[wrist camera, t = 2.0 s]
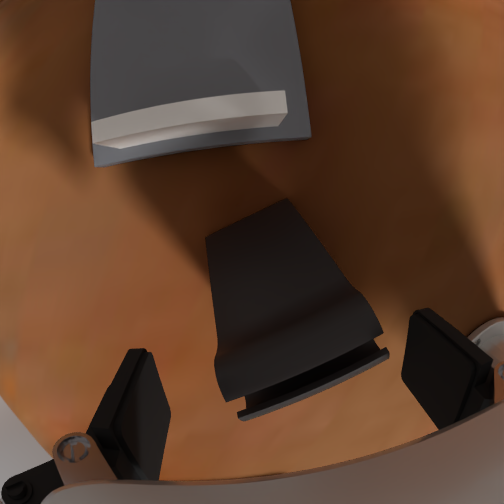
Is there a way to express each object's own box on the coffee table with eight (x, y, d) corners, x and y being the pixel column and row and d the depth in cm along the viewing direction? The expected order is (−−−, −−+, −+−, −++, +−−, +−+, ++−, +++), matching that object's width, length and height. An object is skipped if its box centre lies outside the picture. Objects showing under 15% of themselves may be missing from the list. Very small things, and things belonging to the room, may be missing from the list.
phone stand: (334, 309, 22) (405, 416, 11) (261, 342, 23) (278, 469, 11) (287, 197, 20) (348, 224, 9) (205, 235, 21) (163, 309, 9)
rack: (276, -40, 16) (285, -81, 10) (306, 139, 19) (329, 127, 14) (104, -12, 15) (78, -44, 10) (103, 167, 19) (63, 166, 14)
